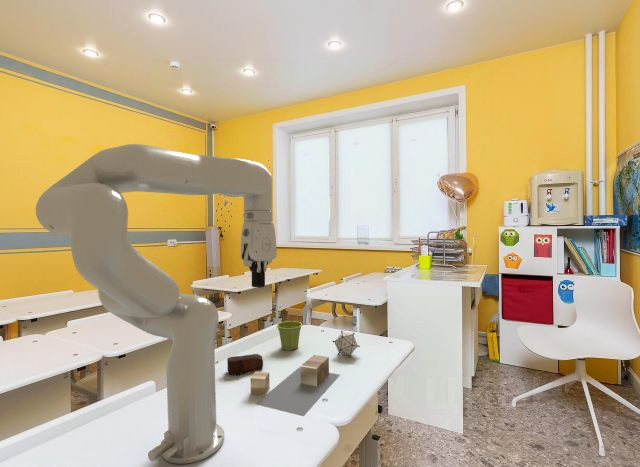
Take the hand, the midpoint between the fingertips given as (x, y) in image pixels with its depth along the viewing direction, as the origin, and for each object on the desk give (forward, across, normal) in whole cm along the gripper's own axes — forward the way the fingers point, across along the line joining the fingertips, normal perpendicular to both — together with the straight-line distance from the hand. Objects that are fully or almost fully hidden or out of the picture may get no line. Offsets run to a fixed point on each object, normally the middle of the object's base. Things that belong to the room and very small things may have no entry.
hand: (258, 286), depth 92 cm
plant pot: (+29, +35, +13) cm, 47 cm away
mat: (+29, +9, -8) cm, 32 cm away
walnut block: (+26, +11, -9) cm, 30 cm away
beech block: (+30, +2, +1) cm, 30 cm away
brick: (+30, +11, +14) cm, 35 cm away
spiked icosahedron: (+29, +37, -9) cm, 48 cm away
